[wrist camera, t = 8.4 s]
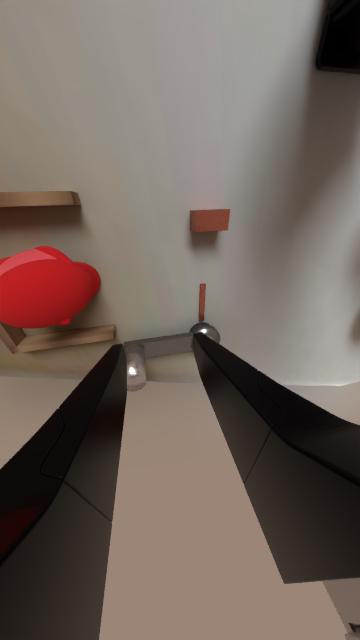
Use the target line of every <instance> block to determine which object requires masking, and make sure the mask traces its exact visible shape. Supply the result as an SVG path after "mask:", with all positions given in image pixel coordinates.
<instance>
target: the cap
mask: <svg viewBox="0 0 360 640" xmlns="http://www.w3.org/2000/svg"><path fill="white" fill-rule="evenodd" d="M99 287H100V276H99V274H98V272H97V271H96V270H95V269H94V268H93V267H92V266H90V265H88V264H85V263H81V262H73V261H71V260H70V259H69V258H68V257H67V256H66V255H64V254H63V253H62V252H60V251H58V250H57V249H54V248H51V247H46V246H42V247H37V248H35V249H31V250H27V251H23V252H21V253H18V254H16V255H14V256H12V257H7V258H4V259H1V260H0V321H1V322H3V323H5V324H7V325H10V326H14V327H19V328H43V327H48V326H52V325H57V326H61V325H67V324H70V322H71V321H72V319H71V318H72V317H73V316H75V315H76V314H78V313H79V312H80V311H81V310H82V309H83V308H84V307H85V306H86V305H87V303H88V302H89V300H90V299H91V298H92V297H93V296H94V295H95V294H96V293H97V291H98V289H99Z"/></svg>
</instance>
